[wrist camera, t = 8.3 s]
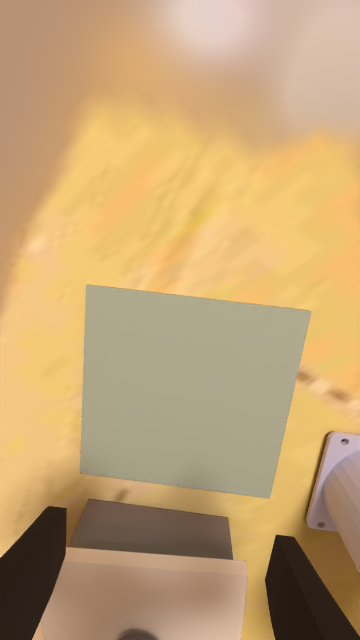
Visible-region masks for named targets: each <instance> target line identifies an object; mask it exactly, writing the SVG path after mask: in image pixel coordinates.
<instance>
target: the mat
mask: <svg viewBox="0 0 360 640" xmlns="http://www.w3.org/2000/svg"><path fill="white" fill-rule="evenodd" d="M310 315H311V311H309V310H302V309H293V308H285V307H276V306H268V305H259V304H251V303H242V302H234V301H225V300H216V299H208V298H199V297H191V296H182V295H174V294H165V293H157V292H148V291H140V290H131V289H122V288H114V287H105V286H97V285H86V308H85V339H84V370H83V400H82V431H81V462H80V474H87V475H95V476H103V477H110V478H118V479H125V480H133V481H140V482H148V483H155V484H163V485H170V486H178V487H185V488H193V489H200V490H208V491H215V492H223V493H231V494H238V495H246V496H253V497H261V498H268V499H270V495H271V490H272V486H273V481H274V477H275V472H276V468H277V463H278V459H279V454H280V450H281V445H282V441H283V436H284V432H285V427H286V423H287V419H288V414H289V410H290V405H291V401H292V396H293V392H294V387H295V383H296V378H297V374H298V369H299V365H300V360H301V356H302V351H303V347H304V342H305V338H306V333H307V329H308V324H309V320H310Z"/></svg>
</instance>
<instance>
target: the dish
mask: <svg viewBox="0 0 360 640" xmlns="http://www.w3.org/2000/svg"><path fill="white" fill-rule="evenodd" d="M68 547H72V548H85V549H98V550H110V551H123V552H136V553H149V554H162V555H175V556H188V557H201V558H214V559H227V560H233V554H232V546H231V537H230V529H229V521H228V518H227V517H219V516H212V515H205V514H197V513H190V512H182V511H175V510H167V509H160V508H153V507H145V506H138V505H130V504H123V503H116V502H108V501H101V500H93V499H89V500H88V502H87V504H86V507H85V509H84V511H83V514H82V516H81V518H80V521H79V523H78V525H77V528H76V530H75V532H74V535H73V537H72V539H71V542H70V544H69V546H68Z"/></svg>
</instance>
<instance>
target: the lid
mask: <svg viewBox="0 0 360 640" xmlns="http://www.w3.org/2000/svg"><path fill="white" fill-rule="evenodd" d="M247 581H248V572H247V566H246V561H240V560H227V559H214V558H201V557H188V556H175V555H162V554H149V553H136V552H123V551H110V550H98V549H85V548H72V547H66V555H65V558H64V561H63V564H62V567H61V570H60V573H59V576H58V579H57V581H56V584H55V587H54V590H53V593H52V595H51V597H50V600H49V602H48V604H47V607H46V609H45V611H44V613H43V616H42V618H41V621H42V630H43V639H44V640H241V634H242V625H243V616H244V607H245V598H246V589H247Z"/></svg>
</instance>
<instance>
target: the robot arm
mask: <svg viewBox="0 0 360 640" xmlns="http://www.w3.org/2000/svg"><path fill="white" fill-rule="evenodd" d="M342 439H345V441H343V442H341V440H342ZM66 511H67V508H60V507H52V506H49V507H47V508H46V509H45V510H44V511H43V512H42V513H41V515H40V516H39V517H38V518H37V519H36V520H35V521H34V522H33V524H32V525H31V526H30V527H29V528H28V529H27V530H26V531H25V532H24V534H23V535H22V536H21V537H20V538H19V539H18V540H17V541H16V542H15V543H14V544H13V545H12V547H11V548H10V549H9V550H8V551H7V552H6V553H5V554H4V555H3V556H2V557H1V558H0V640H32V638H33V636H34V634H35V631H36V629H37V627H38V625H39V622H40V620H41V618H42V616H43V613H44V611H45V609H46V607H47V604H48V602H49V600H50V597H51V595H52V593H53V590H54V587H55V584H56V581H57V579H58V576H59V573H60V570H61V567H62V564H63V561H64V558H65V555H66ZM320 522H321V523H320ZM306 523H307V525H308V527H309V528H311V529H317V530H324V531H331V532H338V533H339V535H340V537H341V539H342V541H343V543H344V545H345V547H346V549H347V551H348V553H349V555H350V556H351V558H352V560H353V562H354V564H355V566H356V568H357V570H358V572H359V574H360V434H352V433H344V432H331V433H330V434H329V435H328V437H327V441H326V445H325V448H324V452H323V456H322V460H321V464H320V467H319V471H318V475H317V479H316V482H315V486H314V490H313V494H312V498H311V501H310V505H309V509H308V513H307V516H306ZM265 583H266V590H267V597H268V604H269V610H270V617H271V623H272V627H273V631H274V636H275V640H360V636H359V635H358V633H357V632H356V631H355V629H354V628H353V626H352V625H351V623H350V622H349V621H348V619H347V618H346V616H345V615H344V613H343V612H342V610H341V609H340V607H339V606H338V604H337V603H336V601H335V600H334V598H333V597H332V595H331V594H330V592H329V591H328V589H327V588H326V586H325V585H324V583H323V582H322V580H321V578H320V577H319V575H318V574H317V572H316V571H315V569H314V567H313V566H312V564H311V563H310V561H309V560H308V558H307V556H306V555H305V553H304V552H303V550H302V548H301V547H300V545H299V544H298V542H297V540H296V539H295V538H294V537H290V536H282V535H276V537H275V541H274V545H273V549H272V553H271V557H270V562H269V566H268V570H267V574H266V578H265Z"/></svg>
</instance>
